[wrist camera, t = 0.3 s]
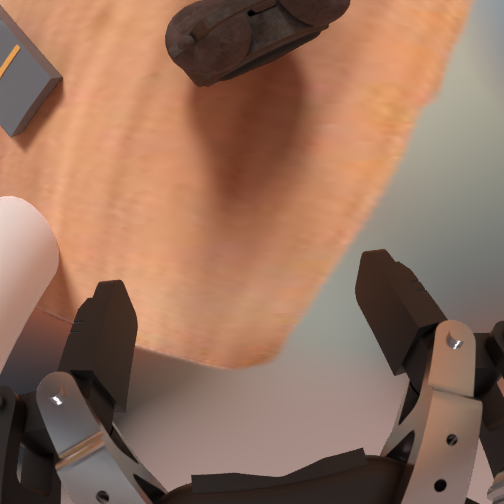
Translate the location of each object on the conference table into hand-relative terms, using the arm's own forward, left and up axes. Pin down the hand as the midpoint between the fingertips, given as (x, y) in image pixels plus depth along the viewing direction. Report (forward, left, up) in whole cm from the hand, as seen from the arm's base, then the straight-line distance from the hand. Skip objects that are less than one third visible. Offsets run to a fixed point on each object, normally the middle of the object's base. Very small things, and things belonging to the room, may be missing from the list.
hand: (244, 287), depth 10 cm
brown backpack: (-11, +2, -29) cm, 31 cm away
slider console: (-17, -33, -29) cm, 47 cm away
